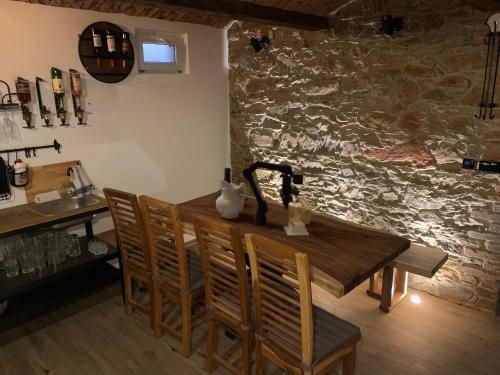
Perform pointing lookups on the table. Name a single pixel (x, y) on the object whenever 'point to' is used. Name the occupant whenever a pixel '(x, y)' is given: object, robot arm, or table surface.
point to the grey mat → (295, 232)
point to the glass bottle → (226, 178)
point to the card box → (296, 226)
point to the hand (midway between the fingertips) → (285, 207)
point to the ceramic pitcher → (230, 199)
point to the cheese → (300, 214)
